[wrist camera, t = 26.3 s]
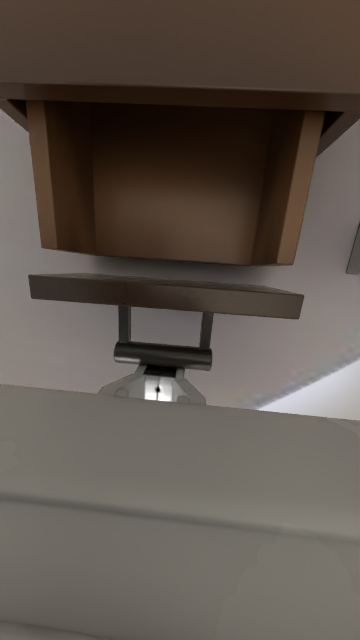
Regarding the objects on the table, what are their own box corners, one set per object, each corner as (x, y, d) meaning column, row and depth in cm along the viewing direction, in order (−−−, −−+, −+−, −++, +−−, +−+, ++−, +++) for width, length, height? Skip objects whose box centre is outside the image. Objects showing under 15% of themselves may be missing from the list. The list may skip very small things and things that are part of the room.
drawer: (252, 352, 15) (282, 393, 10) (88, 338, 16) (40, 371, 11) (306, 44, 11) (412, -164, 6) (71, 38, 11) (-30, -158, 6)
